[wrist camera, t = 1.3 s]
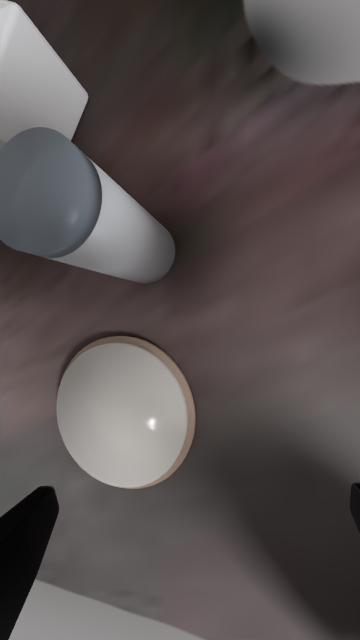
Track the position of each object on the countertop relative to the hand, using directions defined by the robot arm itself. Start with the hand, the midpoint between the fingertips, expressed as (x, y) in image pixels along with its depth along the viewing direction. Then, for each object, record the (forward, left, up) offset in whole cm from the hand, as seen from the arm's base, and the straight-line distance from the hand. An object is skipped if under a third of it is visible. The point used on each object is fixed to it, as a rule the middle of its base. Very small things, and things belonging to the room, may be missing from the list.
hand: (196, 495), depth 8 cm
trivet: (+7, +6, -12) cm, 15 cm away
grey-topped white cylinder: (+11, -6, -12) cm, 17 cm away
